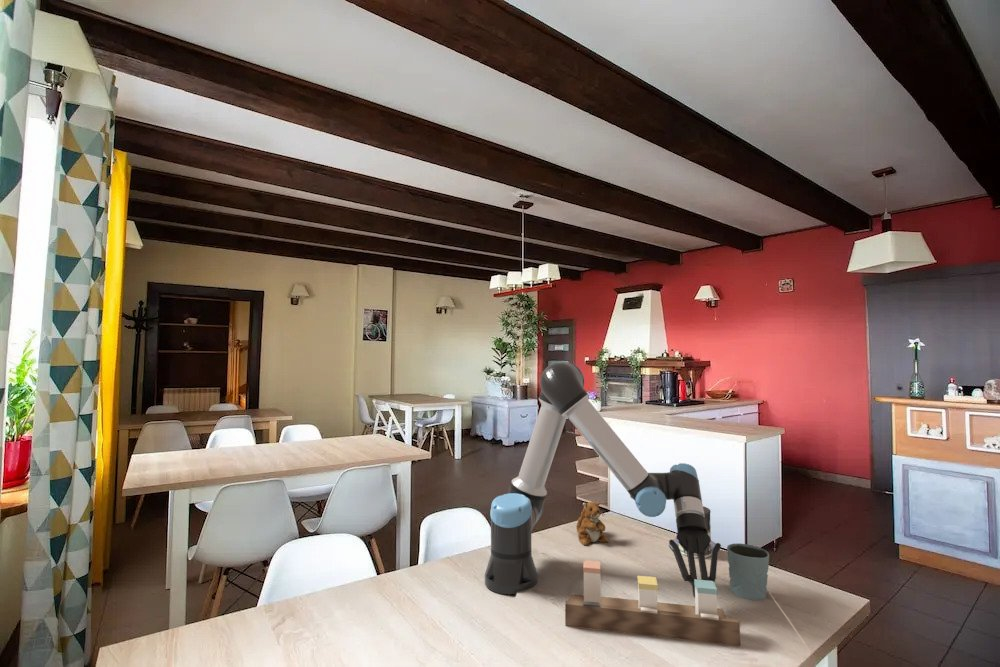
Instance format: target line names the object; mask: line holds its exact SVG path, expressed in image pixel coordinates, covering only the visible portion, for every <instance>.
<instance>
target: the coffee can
mask: <svg viewBox="0 0 1000 667" xmlns="http://www.w3.org/2000/svg"><path fill="white" fill-rule="evenodd" d="M703 510H704V515H705V517H704V518H705V521H706V527H707V532H708V535H709V536H710V538H711V536H712V535H711V533H712V532H711V527H712V526H711V509H710V508H709V507H706V506H704V505H703ZM711 539H712V538H711ZM678 544H679V543H678ZM679 549H680V552H681V555H682V556H683V555H684V556H686V557H687V552H686V551H685V550H684V549H683V547H682V546H681V545H680V544H679ZM711 555H712V551H711V550H710V545H709V546H708V547H707V549H706V550H705V552H704V556H705V559H707V558H709V557H711ZM695 558H696V559H698V556H697V554H696V553H694V559H695Z"/></svg>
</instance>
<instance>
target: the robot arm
mask: <svg viewBox="0 0 1000 667" xmlns="http://www.w3.org/2000/svg"><path fill="white" fill-rule="evenodd" d="M539 386H540V389H541V390H540V393H539V396H538V401H539V403H540V405H541V406H540V408H539V411H538V415H537V418H536V420H535V423H534V427H533V430H532V433H531V436H530V439H529V442H528V446H527V448H526V452H525V455H524V457H523V461H522V464H521V466H520V470H519V473H518V476H516V477H514V478H512V479H511V482H510V485H509V488H508V492H507V493H504V494H502V495H497V496H496V497H495V498H494V499H493V500H492V502H491V505H490V506H491V507H490V513H489V514H490V515H489V516H490V556H489V560H488V562H487V566H486V569H485V573H484V585H485V587H486V588H487V589H488V590H490V591H492V592H493V593H497V594H501V595H506V594H508V596H511V595H510V594H516V595H517V593H519V592H524V591H528V590H530V589H532V588H534V587H535V586H537V584H538V581H539V579H538V578H539V577H538V576H539V575H538V571H537V568H536V564H535V561H534V558H533V555H532V554H533V553H532V531H533V529H534V527H535V526H536V524H537V522H538V521H539V520H540V519H541V517H542V516H543V515H542V514H543V512H544V503H545V500H546V497H547V495H548V491H547V489H546V487H545V486H546V481H547V479H548V475H549V473H550V469H551V466H552V463H553V459H554V457H555V454H556V450H557V448H558V445H559V443H560V438H561V436H562V433H563V430H564V427H565V424H566V420H567V418H568V419H569V421H570V422H571V423H572V425H573V426H574V427H575V428H576V429H577V431H578V432H579V433H580V434H581V435H582V437H583V438H584V439H585V440H586V441H587V443H588V444H589V445H590V447H591V448H592V449H593V451H594V452H596V455H597V456H598V457H599V458H600V459H601V460H602V461H603V463H604V464H605V466H607V468H608V469H609V470H610V472H611V473H612V474H613V476H615V478H616V479H617V480H618V481H619V483H620V484H621V485H622V487H623V488H624V489H625V490H626V491H627V492H628V494H629V497H630V498H631V499H632V500H634V504H635V506H636V508H637V509H638V511H639V512H640V513H641V514H642V515H644V516H646V517H648V518H656V517H658V516H660V515H662V514H663V513H664V511H665V509H666V507H667V506H666V505H667V500H669V501H671V500H673V505H674V507H673V508H674V514H675V518H676V519H675V523H676V531H677V534H676V537H675V538H674V539H669V541H668V547H669V549H670V550H671V551H672V552H673V555H674V558H675V560H676V563H677V566H678V569H679V572H680V574H681V577H682V579H683V581H684V582H686V583H687V582H688V583H689V584H690V585H691V591H692V595H693V598H694V599H695V585H694V579H697V580H698V576H697V575H698V574H697V573H698V572H697V568H696V567H697V566H696V560H695V558H694V553H696V554H697V556H698V558H697V559H698V566H699V572H700V578H701V579H700V580H708V581H713V582H714V583H715V581H716V578H717V568H718V567H717V566H718V554H719V552H720V550H721V547H722V544H721V543H720V542H715V541H713V540H712V538H710V536H709V535H708V532H707V527H706V521H705V518H704V517H705V515H704V510H703V506H704V505H703V500H702V499H703V498H702V494H701V486H700V480H699V478H698V474H697V469H695V467H694V466H693V465H692V464H688V463H685V462H683V463H682V462H681V463H680V462H679V463H678V464H673V465H672V466H671V467H670V468H669V472H648V471H647V470H646V468H645V467H644V466H643V465H642V463H641V462H640V461H639V460H638V459H637V457H635V455H634V454H633V452H632V451H631V450H630V449H629V448H628V447H627V446H626V444H625V442H623V441H622V440H621V438H620V437H619V436H618V434H617V433H616V432H615V431H614V430H613V428H612V427H611V426H610V425H609V423H608V422H607V421H606V420H605V419H604V417H603V416H602V415H601V414H600V413H599V411H598V410H597V408H595V406H594V405H593V404H592V403H591V402H590V400H589V396H590V395H589V393H588V392H587V391H586V390H585V389H584V387H585V376H584V374H583V372H582V370H581V369H580V368H579V367H578V366H577V365H575V364H573V363H572V362H568V361H560V362H555V363H552V364H549V365H548V366H547V367H545V369H544V370H543V371H542V373H541V375H540V379H539ZM678 543H679V544H680V545H681V546H682V547H683V549H684V550H685V551H686V552H687V556H686V558H687V563H688V568H689V571H688V569H687V565H686V563H685V560H684V557H683V554H682V553H681V552H680V549H679V544H678ZM709 545H710V550H711V553H712V554H711V556H710V557H711V558H710V567H709V573H708V569H707V563H706V558H705V556H704V552H705V550H706V549H707V547H708V546H709ZM708 574H709V575H708Z"/></svg>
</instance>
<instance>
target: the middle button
mask: <svg viewBox="0 0 1000 667" xmlns="http://www.w3.org/2000/svg"><path fill="white" fill-rule="evenodd" d="M658 590H659V586H658V581H657V577H656V576H649V575H637V594H638V596H637V597H638V599H637V600H638V608H639V609H641V607H646V608H655V609H657V610H658V607H657V602H658Z"/></svg>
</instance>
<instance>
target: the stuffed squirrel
mask: <svg viewBox="0 0 1000 667" xmlns="http://www.w3.org/2000/svg"><path fill="white" fill-rule="evenodd" d="M600 505H601V503H600V502H599V501H598V502H596V501H595V502H594V501H589V502H587V503H586V502H583V503H582V506H583V509H582V510H581V513H580V515H579V517H578V519H577V522H576V526H575V527H576V533H577V534H578V537H577V538H578V541H579V543H580V542H581V543H582V544H581V543H580V544H581V545H583V546H588V545H589V544H590V543H596V542H599V541H600V543H608V542H609V538H608V537H606V536H604V532H605V531H606V525H605V524H604V523H603V522H602V520H600V519H599V518H600V517H601V515H602V516H605V513H604V512H603V511H602V510H600V507H599V506H600Z"/></svg>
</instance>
